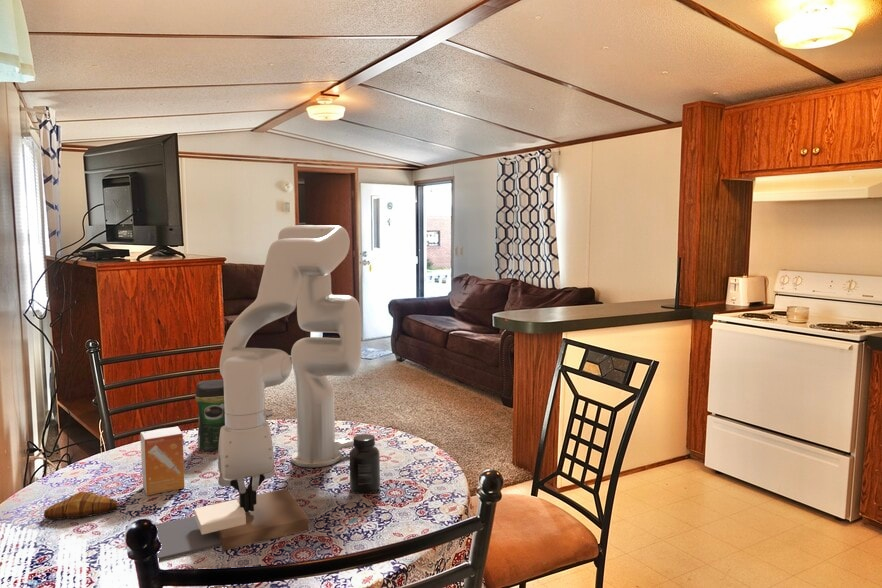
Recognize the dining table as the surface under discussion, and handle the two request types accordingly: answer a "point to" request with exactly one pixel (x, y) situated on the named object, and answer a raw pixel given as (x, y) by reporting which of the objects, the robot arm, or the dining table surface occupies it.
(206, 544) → the mat
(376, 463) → the supplement bottle
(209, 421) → the coffee jar
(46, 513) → the croissant
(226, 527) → the block
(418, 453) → the dining table surface
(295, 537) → the dining table surface
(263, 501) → the board
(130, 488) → the dining table surface
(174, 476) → the small box
